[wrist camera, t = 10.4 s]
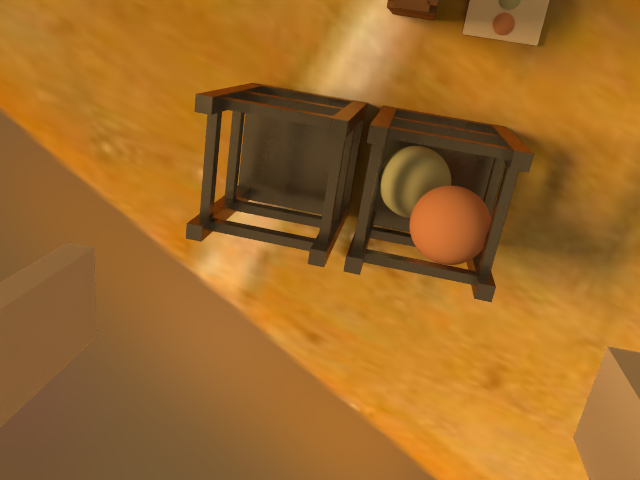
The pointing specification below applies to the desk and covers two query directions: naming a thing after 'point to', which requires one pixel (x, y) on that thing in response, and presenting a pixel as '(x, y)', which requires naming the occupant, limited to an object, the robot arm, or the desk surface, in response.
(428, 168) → the ball sage
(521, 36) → the card
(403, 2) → the peg stand
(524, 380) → the desk surface
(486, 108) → the desk surface
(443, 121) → the dark open frame crate
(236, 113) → the wireframe cube
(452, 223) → the ball terracotta
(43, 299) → the robot arm
